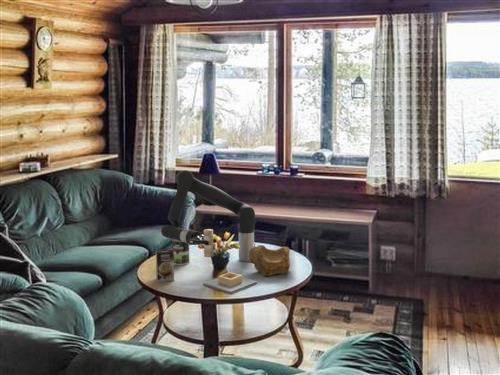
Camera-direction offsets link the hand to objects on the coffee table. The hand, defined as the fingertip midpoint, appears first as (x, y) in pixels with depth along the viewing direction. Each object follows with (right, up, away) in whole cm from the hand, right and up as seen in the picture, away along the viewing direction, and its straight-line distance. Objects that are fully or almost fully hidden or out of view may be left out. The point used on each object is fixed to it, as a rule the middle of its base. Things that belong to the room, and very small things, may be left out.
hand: (212, 242), depth 295 cm
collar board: (+10, -22, 0) cm, 24 cm away
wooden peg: (-2, -8, +3) cm, 8 cm away
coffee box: (-26, -21, +8) cm, 34 cm away
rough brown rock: (+31, -19, +17) cm, 40 cm away
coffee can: (-21, -16, +37) cm, 46 cm away
